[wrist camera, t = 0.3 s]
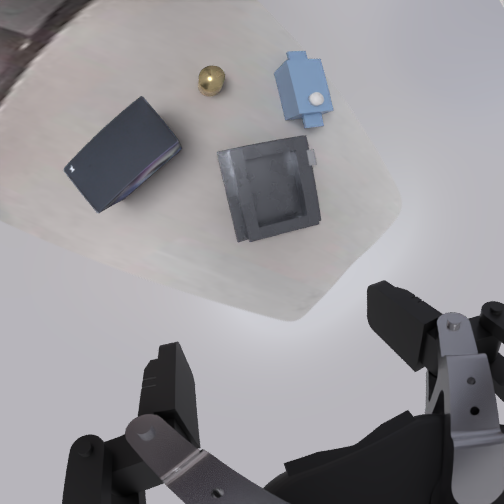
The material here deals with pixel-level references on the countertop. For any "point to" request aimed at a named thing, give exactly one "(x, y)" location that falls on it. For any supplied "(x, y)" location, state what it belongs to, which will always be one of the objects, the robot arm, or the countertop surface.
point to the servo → (303, 89)
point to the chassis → (270, 187)
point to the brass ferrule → (211, 80)
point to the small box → (122, 155)
